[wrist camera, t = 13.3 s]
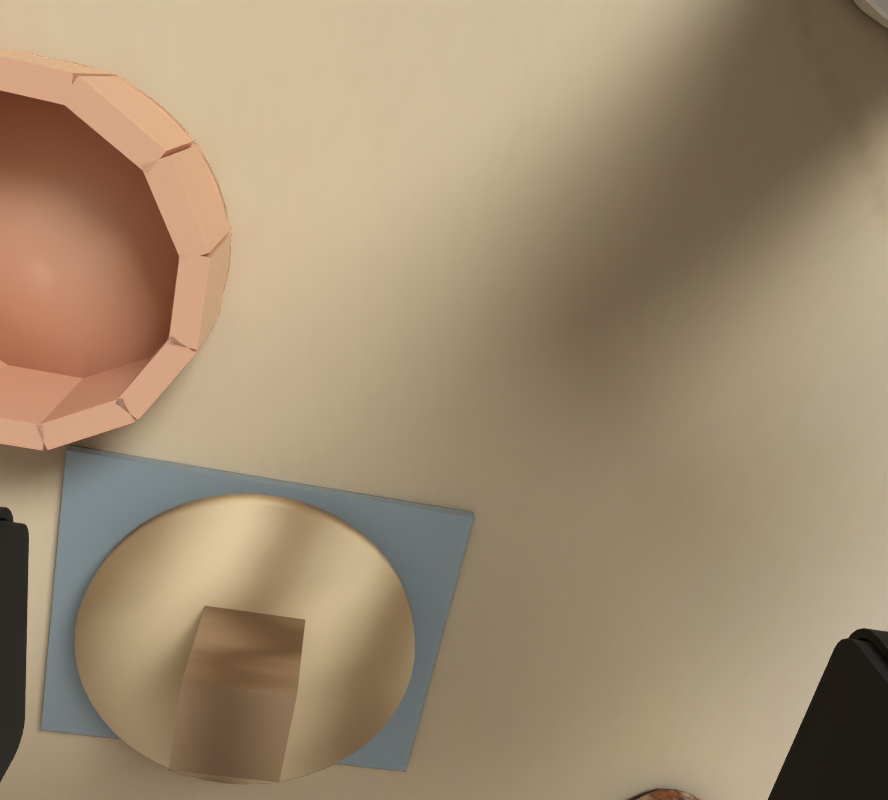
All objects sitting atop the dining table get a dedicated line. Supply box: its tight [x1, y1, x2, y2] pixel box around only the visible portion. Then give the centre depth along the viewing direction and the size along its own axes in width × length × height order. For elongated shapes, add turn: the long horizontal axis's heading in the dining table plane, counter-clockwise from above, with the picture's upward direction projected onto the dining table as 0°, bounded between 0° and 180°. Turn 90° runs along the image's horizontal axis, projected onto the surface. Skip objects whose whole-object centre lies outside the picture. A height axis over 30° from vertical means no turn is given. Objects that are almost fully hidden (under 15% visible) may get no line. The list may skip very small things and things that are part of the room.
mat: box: [41, 446, 474, 772], centre depth 40 cm, size 18×15×1 cm
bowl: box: [0, 50, 232, 451], centre depth 31 cm, size 13×13×6 cm
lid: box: [75, 494, 415, 784], centre depth 37 cm, size 15×15×7 cm
